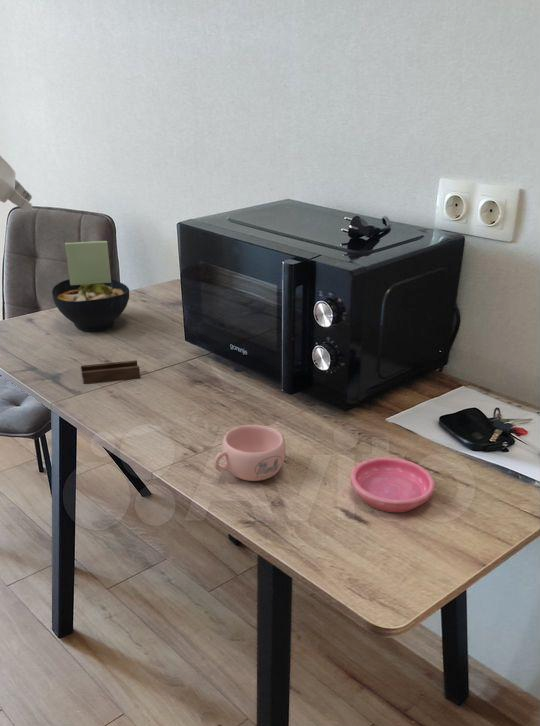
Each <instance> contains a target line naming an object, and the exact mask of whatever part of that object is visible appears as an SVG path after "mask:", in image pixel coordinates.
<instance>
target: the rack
mask: <svg viewBox="0 0 540 726" xmlns="http://www.w3.org/2000/svg"><path fill="white" fill-rule="evenodd" d="M80 371H81V377H82V382H83V384H84V385H88V384H97V383H107V382H116V381H126V380H127V381H128V380H137V379H141V372H140V366H139V365H138V360H136V359H135V360H125V361H124V360H123V361H116V362H115V361H114V362H104V363H95V364H84V365H80Z"/></svg>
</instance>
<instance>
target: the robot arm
mask: <svg viewBox="0 0 540 726" xmlns="http://www.w3.org/2000/svg"><path fill="white" fill-rule="evenodd" d="M16 175H17V174H16V171H15V170H14V169H13V167H12V166H11V165H10V163H8V162H7V161H6V159H4V157H3V156H2V155H0V202H2V203H4V204H5V203H6V202H7V201H9V202H11V204H13V205H15V206H17V207H19V208H20V209H21V210H22V211H23V212H25V213H30V212H31V211H32V209H33V204H32V203H31V202H30V201H31V200H32V199H33V195H32V194H31V193H30V192H29V191H28V190H27V189H26V188H25V187H24V186H23V185H22V184H21V182H20V181H18V180H17V179H16Z"/></svg>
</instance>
